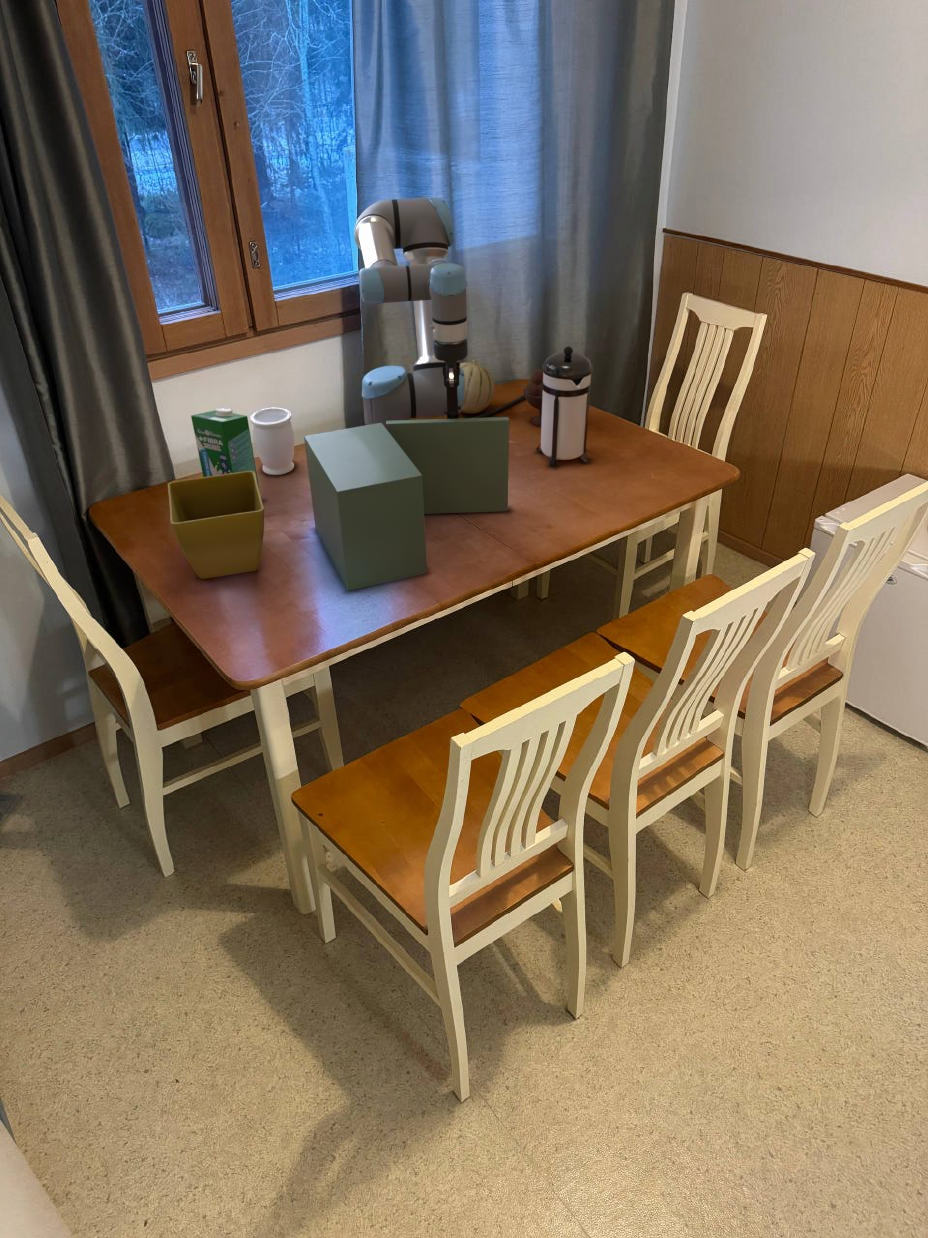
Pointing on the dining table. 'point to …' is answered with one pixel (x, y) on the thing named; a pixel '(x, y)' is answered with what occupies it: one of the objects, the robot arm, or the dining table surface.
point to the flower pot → (218, 522)
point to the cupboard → (367, 505)
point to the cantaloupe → (476, 387)
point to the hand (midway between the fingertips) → (453, 437)
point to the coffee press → (565, 406)
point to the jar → (274, 439)
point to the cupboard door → (458, 461)
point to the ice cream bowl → (535, 394)
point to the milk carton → (223, 442)
